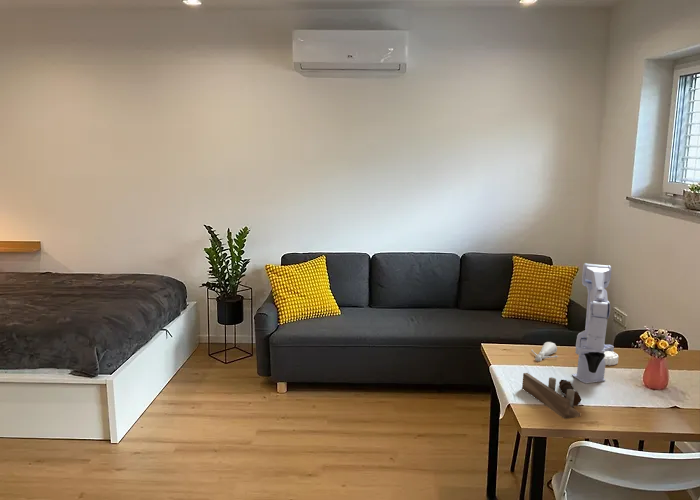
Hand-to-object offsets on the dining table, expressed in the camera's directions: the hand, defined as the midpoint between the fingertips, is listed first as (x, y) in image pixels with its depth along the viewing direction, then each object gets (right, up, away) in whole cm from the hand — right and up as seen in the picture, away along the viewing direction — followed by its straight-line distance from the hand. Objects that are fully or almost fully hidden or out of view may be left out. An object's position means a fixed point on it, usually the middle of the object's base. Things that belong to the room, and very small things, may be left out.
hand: (592, 371), depth 211 cm
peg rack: (-15, -10, -3) cm, 19 cm away
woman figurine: (-4, -2, +41) cm, 41 cm away
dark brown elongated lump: (-8, -10, +2) cm, 13 cm away
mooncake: (+19, -3, +38) cm, 43 cm away
